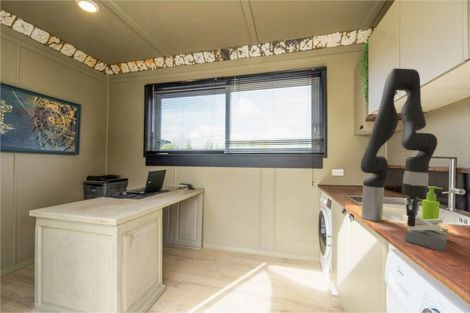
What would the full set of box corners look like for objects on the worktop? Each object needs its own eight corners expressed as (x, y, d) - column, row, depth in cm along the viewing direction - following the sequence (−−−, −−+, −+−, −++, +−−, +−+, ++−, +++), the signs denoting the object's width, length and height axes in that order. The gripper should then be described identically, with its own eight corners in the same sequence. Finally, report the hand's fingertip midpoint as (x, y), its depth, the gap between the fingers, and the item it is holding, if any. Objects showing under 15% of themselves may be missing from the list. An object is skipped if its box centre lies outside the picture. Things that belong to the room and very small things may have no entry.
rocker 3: (412, 228, 84) (411, 225, 84) (440, 227, 78) (439, 224, 78) (411, 230, 81) (410, 227, 82) (440, 229, 75) (438, 226, 76)
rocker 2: (416, 218, 87) (417, 216, 87) (440, 232, 82) (442, 229, 81) (414, 219, 85) (416, 217, 85) (440, 233, 80) (442, 231, 79)
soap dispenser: (443, 231, 94) (446, 188, 94) (426, 229, 96) (429, 187, 95) (434, 227, 100) (437, 186, 100) (417, 225, 101) (420, 185, 101)
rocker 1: (417, 222, 92) (416, 219, 92) (442, 221, 86) (441, 218, 86) (416, 224, 89) (415, 221, 90) (442, 222, 84) (441, 219, 84)
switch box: (412, 230, 94) (412, 218, 94) (447, 238, 86) (448, 226, 86) (404, 240, 82) (405, 227, 82) (444, 251, 74) (445, 236, 73)
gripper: (405, 180, 89) (402, 219, 90) (399, 182, 80) (395, 226, 81) (429, 183, 84) (425, 225, 84) (425, 186, 75) (421, 233, 76)
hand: (410, 225), depth 83 cm, fingers closed
